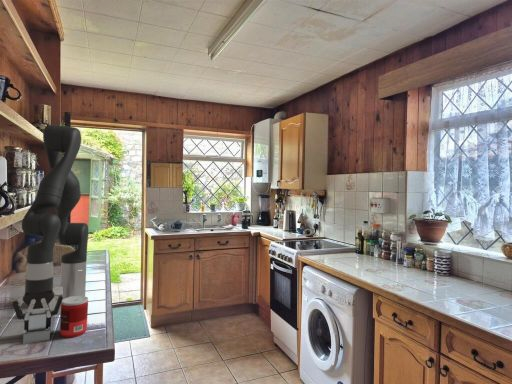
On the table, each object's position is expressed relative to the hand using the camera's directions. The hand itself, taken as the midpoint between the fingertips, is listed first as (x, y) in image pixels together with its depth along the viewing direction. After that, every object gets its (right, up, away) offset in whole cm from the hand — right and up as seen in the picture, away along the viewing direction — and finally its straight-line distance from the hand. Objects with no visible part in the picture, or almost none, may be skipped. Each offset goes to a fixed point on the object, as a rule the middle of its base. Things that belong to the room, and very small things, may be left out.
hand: (37, 329), depth 107 cm
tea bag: (-7, -2, +19) cm, 20 cm away
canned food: (+10, -3, +3) cm, 11 cm away
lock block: (0, -1, 0) cm, 1 cm away
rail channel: (0, -2, 0) cm, 2 cm away
